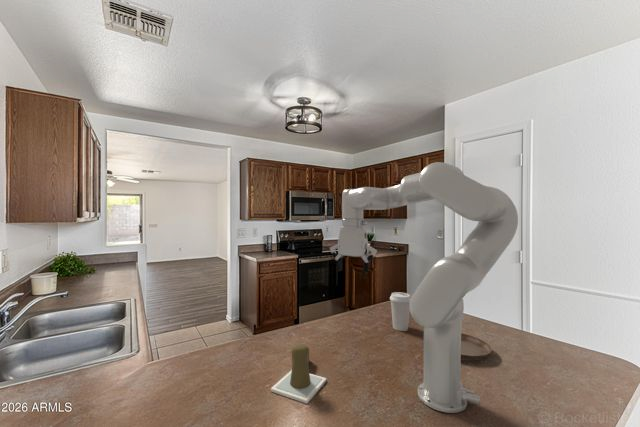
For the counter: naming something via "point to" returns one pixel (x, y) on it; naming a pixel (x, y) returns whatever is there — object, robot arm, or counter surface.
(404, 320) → the coffee cup
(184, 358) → the counter surface
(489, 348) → the plant saucer
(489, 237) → the robot arm
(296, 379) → the olive rounded tall piece
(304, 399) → the plate
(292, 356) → the walnut block
